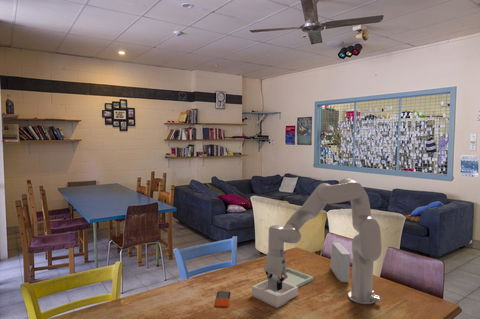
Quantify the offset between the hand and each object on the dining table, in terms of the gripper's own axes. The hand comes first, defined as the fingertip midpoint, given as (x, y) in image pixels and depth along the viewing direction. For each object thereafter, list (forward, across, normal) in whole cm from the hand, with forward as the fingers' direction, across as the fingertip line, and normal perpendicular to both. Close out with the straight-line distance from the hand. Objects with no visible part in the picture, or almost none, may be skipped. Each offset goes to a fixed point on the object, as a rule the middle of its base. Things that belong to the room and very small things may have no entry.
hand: (274, 287), depth 162 cm
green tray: (+5, +6, -20) cm, 21 cm away
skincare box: (+5, -8, -48) cm, 49 cm away
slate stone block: (+1, 0, 0) cm, 1 cm away
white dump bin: (+5, 0, 0) cm, 5 cm away
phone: (+6, +15, +21) cm, 26 cm away
